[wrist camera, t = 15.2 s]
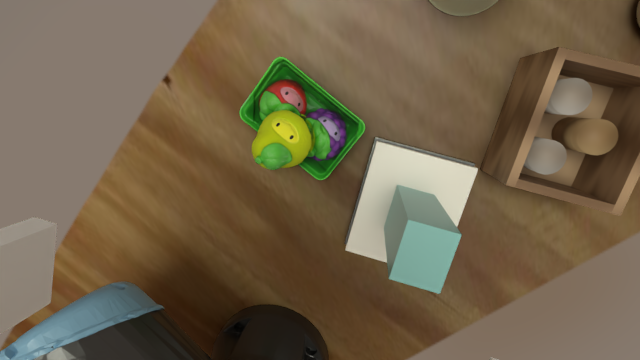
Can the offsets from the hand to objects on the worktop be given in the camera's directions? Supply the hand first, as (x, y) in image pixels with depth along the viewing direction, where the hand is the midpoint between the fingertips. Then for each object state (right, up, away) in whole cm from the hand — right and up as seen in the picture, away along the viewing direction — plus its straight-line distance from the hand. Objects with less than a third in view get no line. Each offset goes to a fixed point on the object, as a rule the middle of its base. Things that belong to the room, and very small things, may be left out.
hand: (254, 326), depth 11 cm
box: (+26, +10, +28) cm, 39 cm away
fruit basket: (0, +11, +32) cm, 34 cm away
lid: (+12, +1, +31) cm, 33 cm away
